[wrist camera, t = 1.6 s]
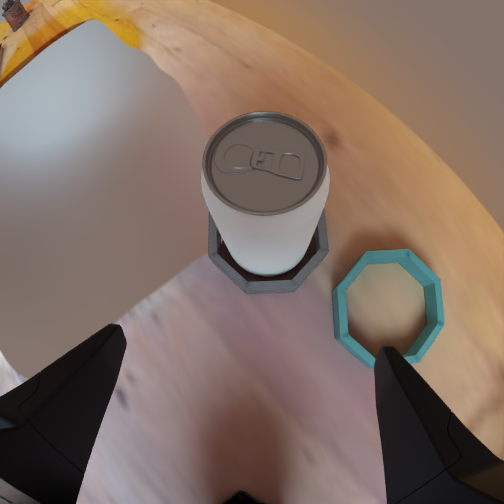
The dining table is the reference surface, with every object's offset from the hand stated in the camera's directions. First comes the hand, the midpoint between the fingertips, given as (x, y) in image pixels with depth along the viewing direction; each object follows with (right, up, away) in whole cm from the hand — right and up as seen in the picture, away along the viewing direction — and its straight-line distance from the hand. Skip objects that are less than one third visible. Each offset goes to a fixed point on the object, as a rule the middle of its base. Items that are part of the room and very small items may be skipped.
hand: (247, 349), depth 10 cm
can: (+1, +4, +15) cm, 16 cm away
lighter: (-61, +64, +35) cm, 95 cm away
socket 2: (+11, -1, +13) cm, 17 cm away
